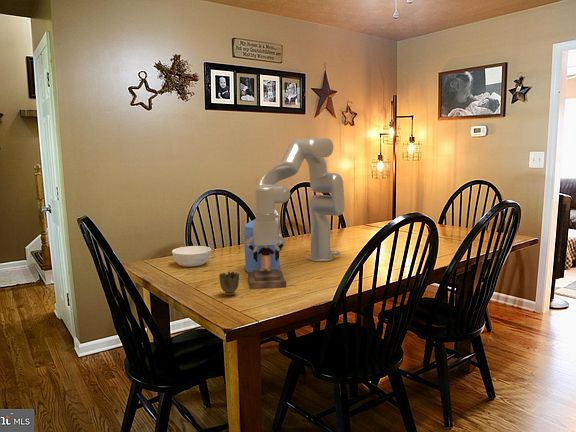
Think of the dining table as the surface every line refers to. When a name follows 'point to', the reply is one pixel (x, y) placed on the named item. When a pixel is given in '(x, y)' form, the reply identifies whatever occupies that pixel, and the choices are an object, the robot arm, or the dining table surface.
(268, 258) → the grandmother figurine
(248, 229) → the water jug
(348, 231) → the dining table surface
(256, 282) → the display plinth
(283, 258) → the dining table surface
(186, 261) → the bowl
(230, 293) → the cup
